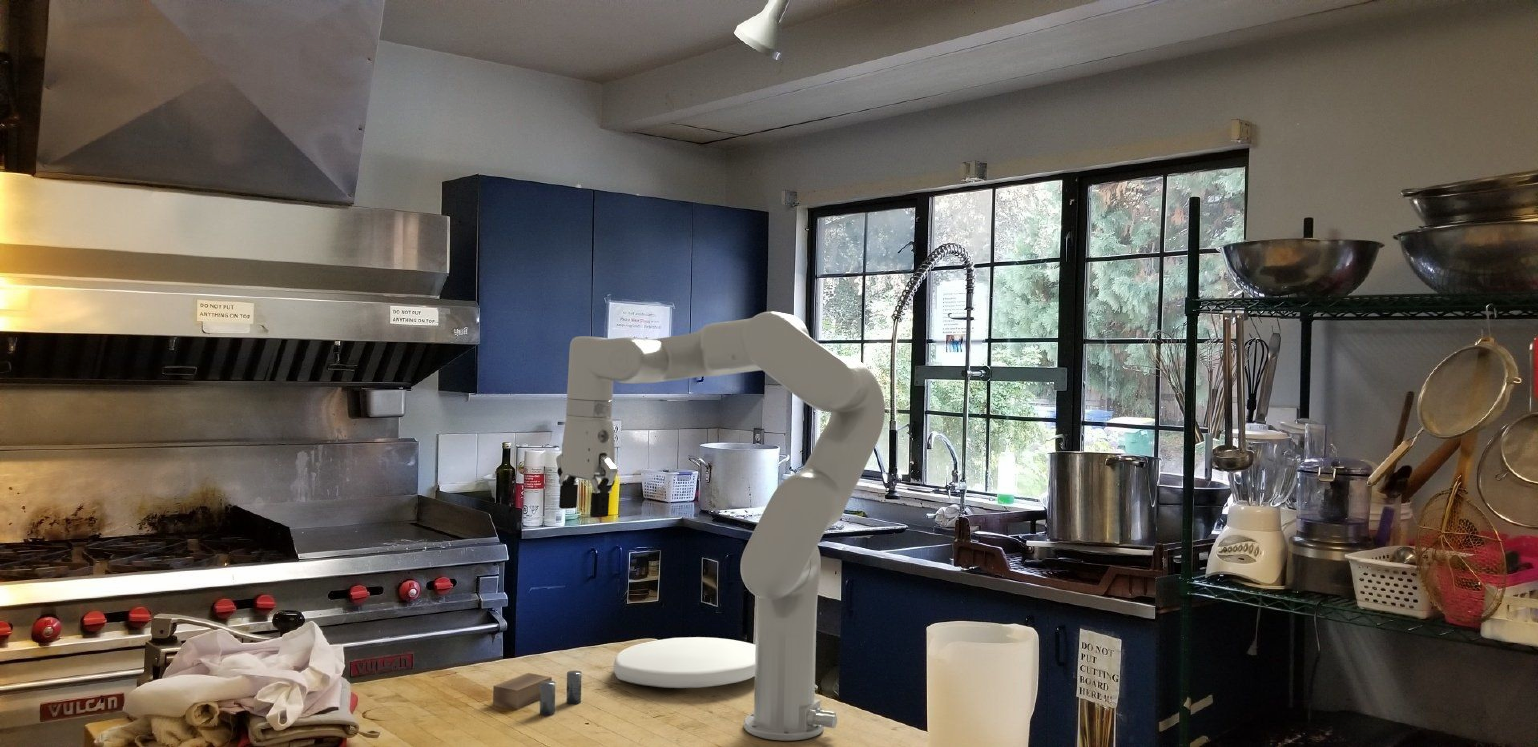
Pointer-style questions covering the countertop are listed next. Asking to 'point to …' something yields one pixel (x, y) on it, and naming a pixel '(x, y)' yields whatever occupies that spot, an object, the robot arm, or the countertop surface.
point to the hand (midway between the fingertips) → (583, 512)
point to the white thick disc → (686, 662)
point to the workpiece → (518, 691)
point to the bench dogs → (549, 693)
